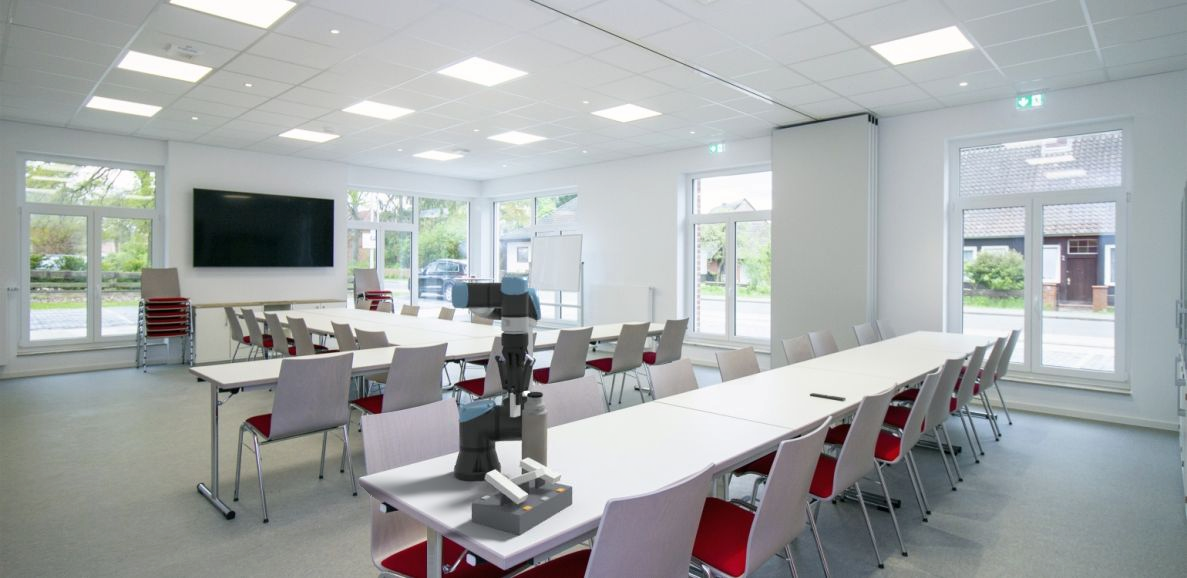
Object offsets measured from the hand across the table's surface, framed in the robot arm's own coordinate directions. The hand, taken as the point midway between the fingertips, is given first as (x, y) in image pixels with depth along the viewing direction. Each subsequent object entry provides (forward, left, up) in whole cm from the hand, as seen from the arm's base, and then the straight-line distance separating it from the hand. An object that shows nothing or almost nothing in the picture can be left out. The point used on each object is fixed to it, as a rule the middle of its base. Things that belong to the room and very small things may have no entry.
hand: (515, 415), depth 169 cm
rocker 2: (+5, -2, -16) cm, 17 cm away
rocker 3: (+5, +5, -16) cm, 18 cm away
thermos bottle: (-8, +20, -26) cm, 33 cm away
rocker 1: (+5, -10, -16) cm, 19 cm away
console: (+5, -2, -26) cm, 26 cm away
